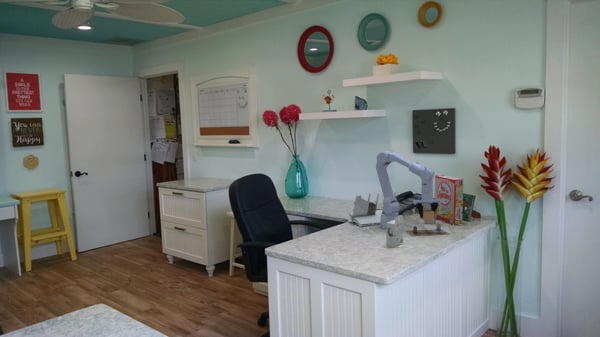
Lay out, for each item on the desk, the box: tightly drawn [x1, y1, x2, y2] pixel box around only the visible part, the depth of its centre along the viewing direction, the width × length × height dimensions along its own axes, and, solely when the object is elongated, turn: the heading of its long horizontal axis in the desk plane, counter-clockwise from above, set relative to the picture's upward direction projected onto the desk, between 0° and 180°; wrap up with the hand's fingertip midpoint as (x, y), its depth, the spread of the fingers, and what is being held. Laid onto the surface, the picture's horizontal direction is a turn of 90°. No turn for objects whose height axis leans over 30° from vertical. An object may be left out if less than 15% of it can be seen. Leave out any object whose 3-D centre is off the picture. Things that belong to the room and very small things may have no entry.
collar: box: [419, 210, 434, 221], centre depth 237 cm, size 6×6×4 cm
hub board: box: [404, 223, 451, 237], centre depth 238 cm, size 21×12×6 cm, turn 97°
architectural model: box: [348, 191, 400, 228], centre depth 269 cm, size 20×29×21 cm
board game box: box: [434, 174, 464, 226], centre depth 268 cm, size 20×6×27 cm, turn 16°
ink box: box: [385, 214, 404, 248], centre depth 218 cm, size 9×5×15 cm, turn 141°
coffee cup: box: [422, 197, 438, 225], centre depth 261 cm, size 10×10×15 cm
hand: (426, 217), depth 237 cm, fingers closed on collar, 6 cm apart
